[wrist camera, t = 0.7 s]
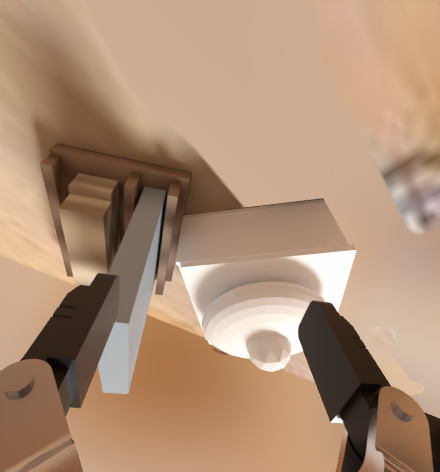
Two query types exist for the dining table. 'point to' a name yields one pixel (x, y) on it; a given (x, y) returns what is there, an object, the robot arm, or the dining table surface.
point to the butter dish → (262, 274)
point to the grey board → (133, 290)
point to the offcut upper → (87, 236)
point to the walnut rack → (120, 195)
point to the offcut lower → (100, 197)
